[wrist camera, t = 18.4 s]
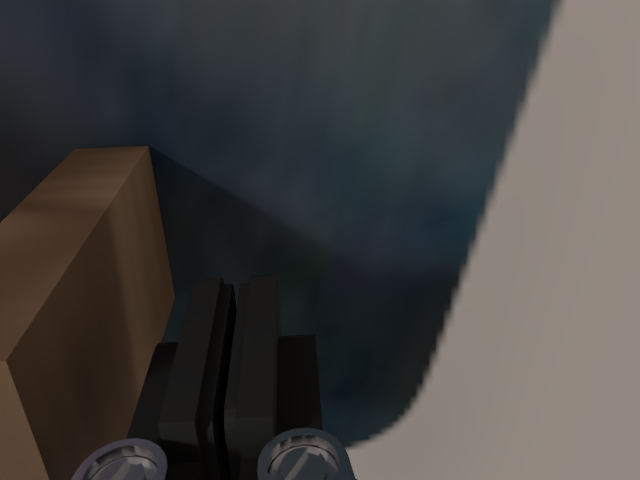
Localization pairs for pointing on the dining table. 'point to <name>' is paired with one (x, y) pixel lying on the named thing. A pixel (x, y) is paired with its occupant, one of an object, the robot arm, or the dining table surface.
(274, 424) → the robot arm
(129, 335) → the end domino
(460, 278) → the dining table surface
